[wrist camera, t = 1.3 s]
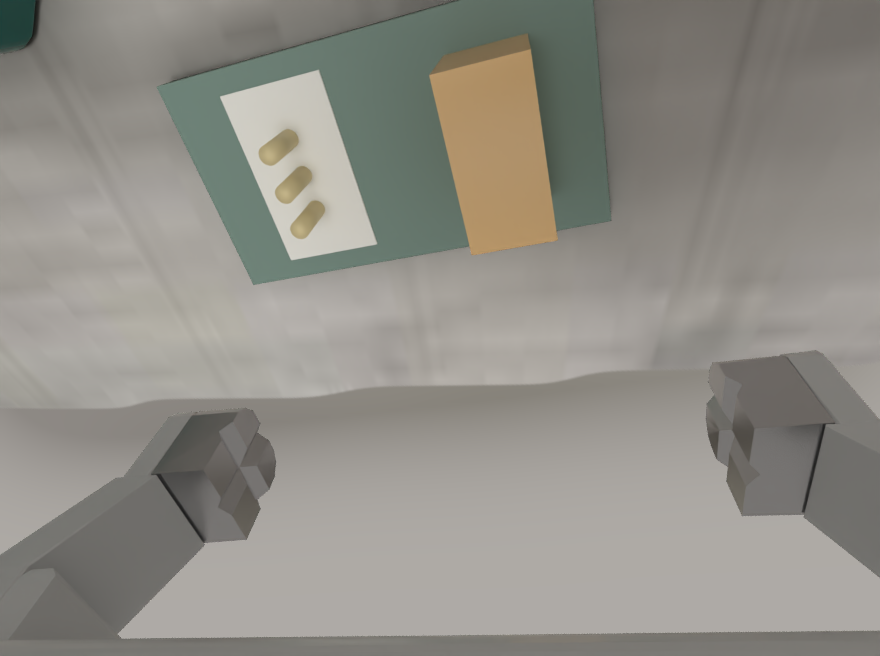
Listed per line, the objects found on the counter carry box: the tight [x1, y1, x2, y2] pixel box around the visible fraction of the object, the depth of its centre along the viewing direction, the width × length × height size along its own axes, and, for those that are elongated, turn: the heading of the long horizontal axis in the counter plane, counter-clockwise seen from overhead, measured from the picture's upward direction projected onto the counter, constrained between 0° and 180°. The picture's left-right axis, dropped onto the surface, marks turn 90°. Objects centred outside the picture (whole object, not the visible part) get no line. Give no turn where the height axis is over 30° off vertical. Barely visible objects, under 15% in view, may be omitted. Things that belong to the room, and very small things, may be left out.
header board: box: [157, 0, 611, 285], centre depth 28 cm, size 22×12×5 cm, turn 104°
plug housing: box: [429, 33, 558, 255], centre depth 25 cm, size 4×8×6 cm, turn 14°
